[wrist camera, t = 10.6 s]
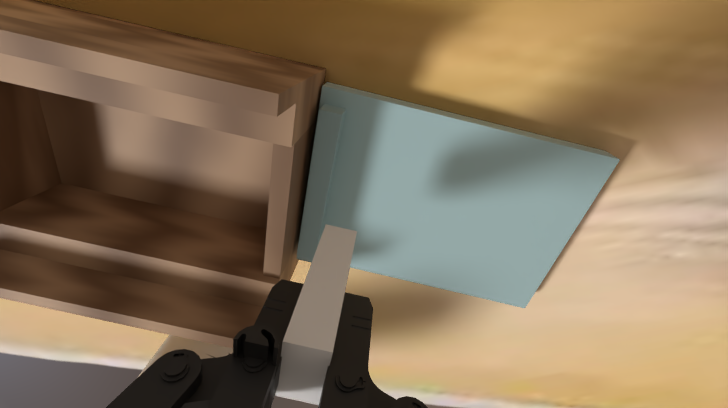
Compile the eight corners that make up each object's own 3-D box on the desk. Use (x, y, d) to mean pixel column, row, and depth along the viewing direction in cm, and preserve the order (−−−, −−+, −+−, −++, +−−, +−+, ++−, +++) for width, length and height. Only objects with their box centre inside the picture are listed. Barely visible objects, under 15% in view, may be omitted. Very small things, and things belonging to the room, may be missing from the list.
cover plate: (303, 239, 25) (290, 268, 22) (329, 80, 20) (316, 90, 17) (516, 289, 26) (532, 324, 23) (600, 148, 20) (637, 169, 17)
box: (68, 207, 25) (-71, 282, 18) (13, -5, 18) (-248, -29, 11) (299, 258, 25) (258, 353, 18) (325, 68, 19) (279, 94, 11)
